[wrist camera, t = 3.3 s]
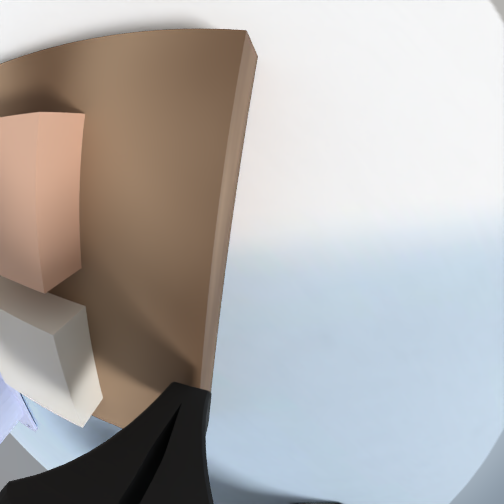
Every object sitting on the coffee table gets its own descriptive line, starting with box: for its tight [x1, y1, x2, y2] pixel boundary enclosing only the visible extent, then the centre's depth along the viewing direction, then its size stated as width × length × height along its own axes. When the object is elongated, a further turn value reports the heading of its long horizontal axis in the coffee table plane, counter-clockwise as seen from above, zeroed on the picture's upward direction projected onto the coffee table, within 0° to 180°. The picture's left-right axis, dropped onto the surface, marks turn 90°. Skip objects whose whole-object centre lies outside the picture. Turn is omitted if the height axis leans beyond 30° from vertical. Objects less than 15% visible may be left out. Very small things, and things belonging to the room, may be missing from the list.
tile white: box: [0, 276, 103, 428], centre depth 10 cm, size 5×5×2 cm
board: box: [0, 29, 258, 428], centre depth 11 cm, size 14×16×2 cm
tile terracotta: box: [0, 112, 85, 294], centre depth 7 cm, size 5×5×2 cm
